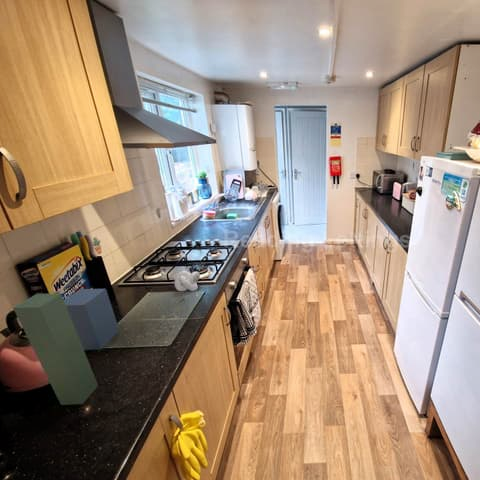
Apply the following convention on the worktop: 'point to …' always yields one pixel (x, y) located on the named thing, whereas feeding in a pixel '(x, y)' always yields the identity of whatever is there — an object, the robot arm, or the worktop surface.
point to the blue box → (92, 317)
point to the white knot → (186, 281)
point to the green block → (57, 347)
